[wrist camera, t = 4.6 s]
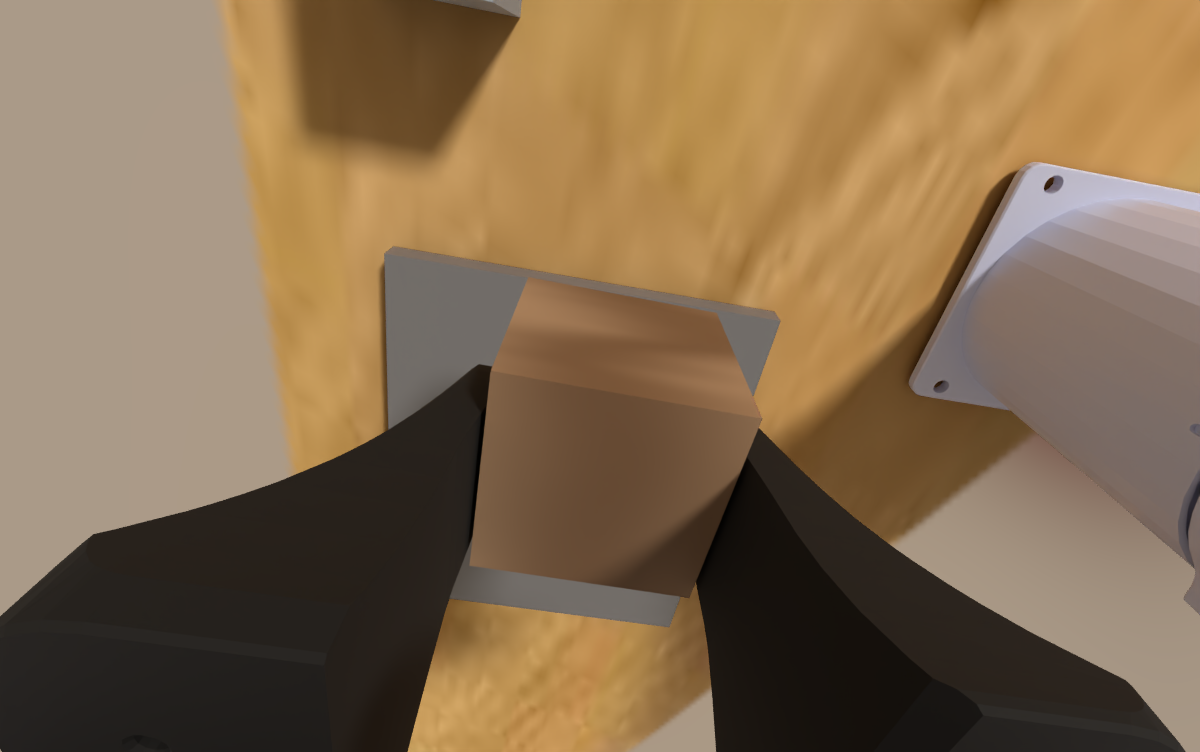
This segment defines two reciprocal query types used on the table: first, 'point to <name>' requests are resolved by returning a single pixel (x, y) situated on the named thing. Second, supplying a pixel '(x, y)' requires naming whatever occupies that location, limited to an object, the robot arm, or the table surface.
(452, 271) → the baseplate
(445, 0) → the slate block
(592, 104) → the table surface
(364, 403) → the table surface
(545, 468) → the walnut block
